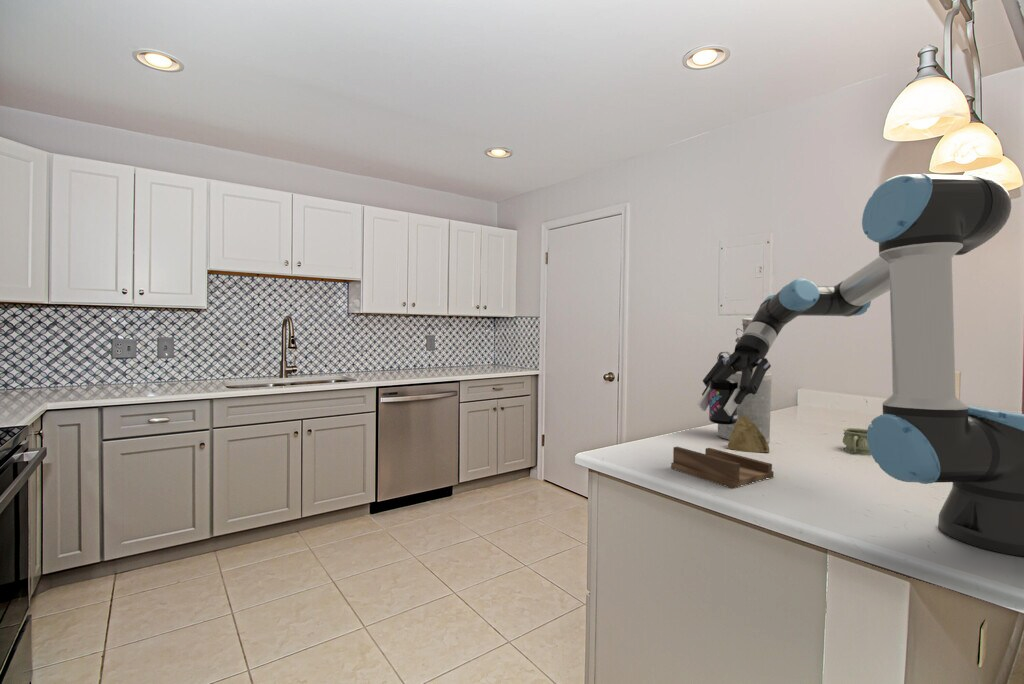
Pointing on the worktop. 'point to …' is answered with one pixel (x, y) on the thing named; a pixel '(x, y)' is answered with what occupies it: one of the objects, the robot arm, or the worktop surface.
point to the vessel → (856, 441)
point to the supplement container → (721, 401)
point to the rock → (747, 437)
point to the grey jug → (751, 401)
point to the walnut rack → (721, 466)
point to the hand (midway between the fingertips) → (714, 409)
